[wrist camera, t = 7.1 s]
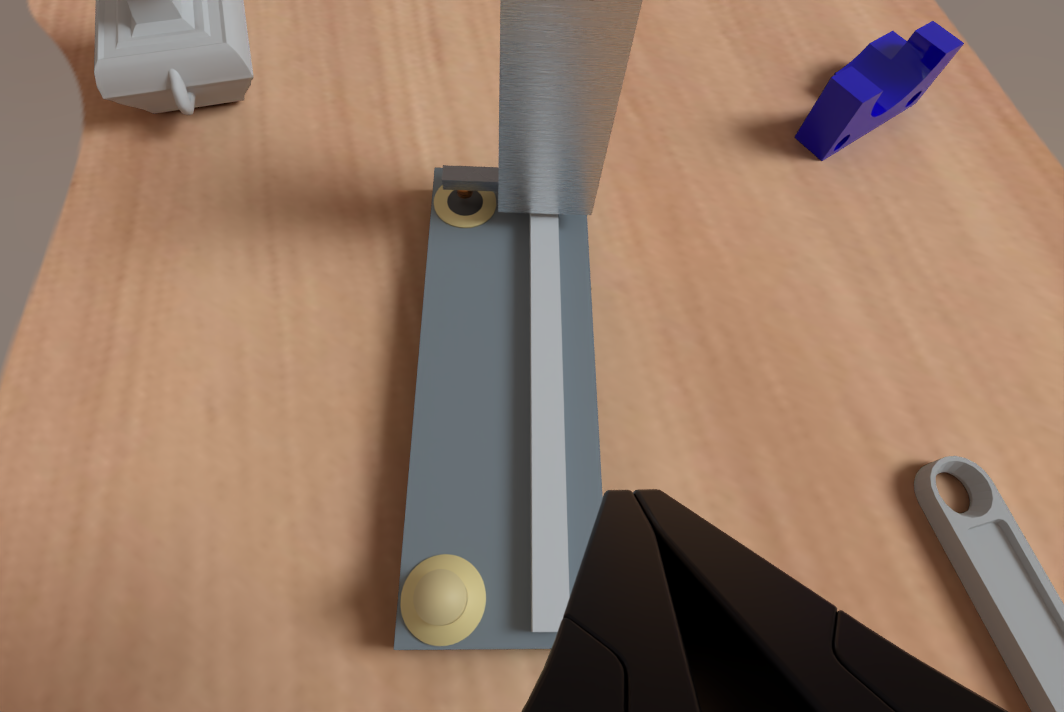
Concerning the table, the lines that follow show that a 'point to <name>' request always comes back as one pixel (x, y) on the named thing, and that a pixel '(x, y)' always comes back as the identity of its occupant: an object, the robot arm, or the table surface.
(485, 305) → the plate
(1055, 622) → the adjustable wrench
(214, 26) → the stamp
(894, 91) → the cable holder
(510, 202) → the sliding jaw
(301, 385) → the table surface
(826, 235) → the table surface
